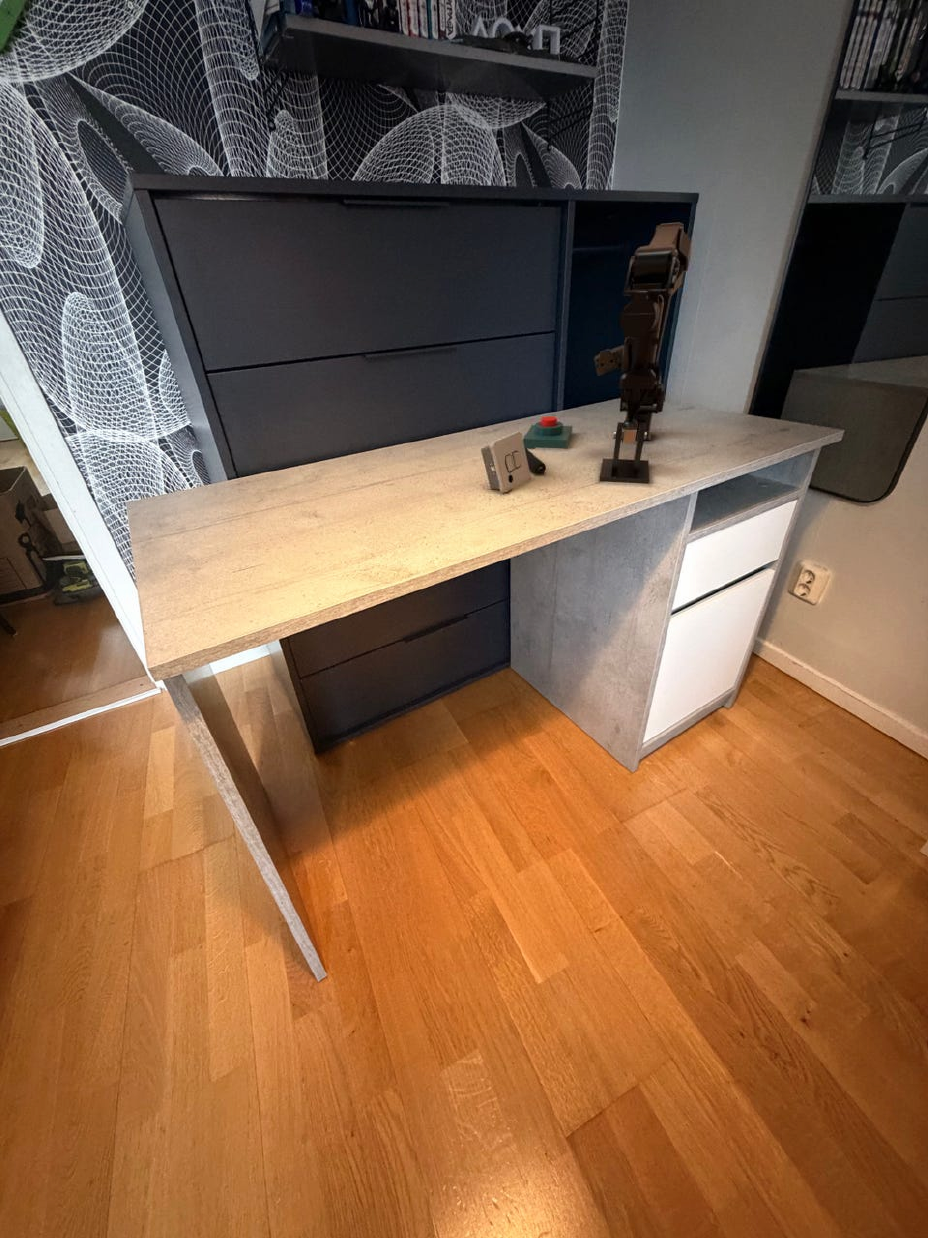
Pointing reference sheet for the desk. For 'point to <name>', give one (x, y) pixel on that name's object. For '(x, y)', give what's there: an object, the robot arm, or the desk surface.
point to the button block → (547, 436)
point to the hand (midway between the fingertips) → (631, 417)
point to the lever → (629, 431)
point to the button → (548, 421)
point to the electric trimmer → (534, 462)
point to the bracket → (626, 462)
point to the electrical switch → (506, 462)
